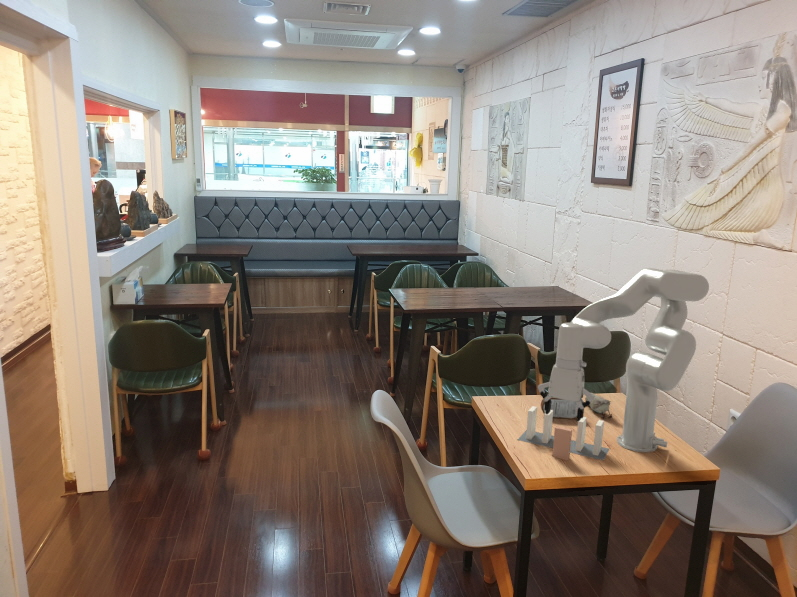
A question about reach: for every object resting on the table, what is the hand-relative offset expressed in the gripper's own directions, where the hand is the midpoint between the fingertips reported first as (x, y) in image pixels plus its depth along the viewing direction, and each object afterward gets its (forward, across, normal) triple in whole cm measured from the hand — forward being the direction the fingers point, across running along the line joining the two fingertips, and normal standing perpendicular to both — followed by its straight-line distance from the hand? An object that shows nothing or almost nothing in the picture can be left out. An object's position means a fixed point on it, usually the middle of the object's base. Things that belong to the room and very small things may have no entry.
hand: (563, 416), depth 186 cm
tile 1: (+14, +12, -11) cm, 21 cm away
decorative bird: (+14, -2, -48) cm, 50 cm away
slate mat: (+14, +2, -11) cm, 18 cm away
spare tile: (+14, 0, -1) cm, 14 cm away
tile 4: (+14, -4, -11) cm, 18 cm away
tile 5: (+13, -10, -11) cm, 20 cm away
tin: (+14, +8, -35) cm, 38 cm away
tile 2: (+14, +7, -11) cm, 19 cm away
